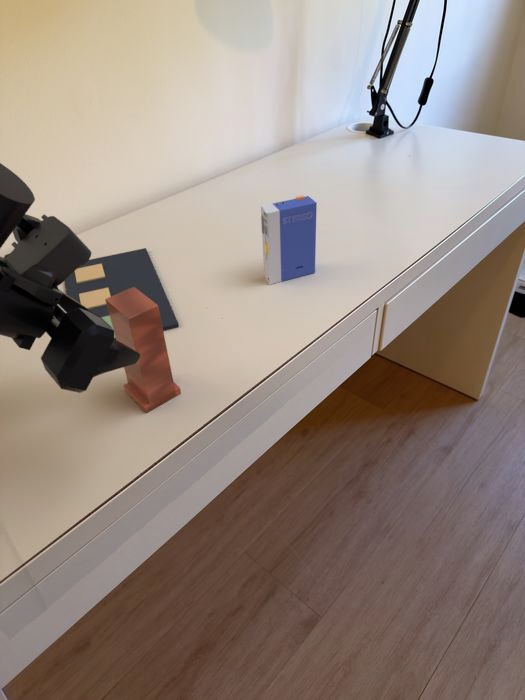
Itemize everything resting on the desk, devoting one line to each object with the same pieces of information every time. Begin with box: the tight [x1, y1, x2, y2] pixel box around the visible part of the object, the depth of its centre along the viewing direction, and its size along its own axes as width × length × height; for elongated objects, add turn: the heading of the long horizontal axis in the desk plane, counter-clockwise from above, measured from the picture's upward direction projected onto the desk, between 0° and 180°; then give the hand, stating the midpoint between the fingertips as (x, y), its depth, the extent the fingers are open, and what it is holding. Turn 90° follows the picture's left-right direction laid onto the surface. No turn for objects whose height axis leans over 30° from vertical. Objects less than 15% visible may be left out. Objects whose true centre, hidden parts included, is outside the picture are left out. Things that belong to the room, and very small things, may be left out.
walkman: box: [260, 194, 318, 285], centre depth 79 cm, size 8×3×12 cm, turn 112°
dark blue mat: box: [64, 247, 180, 340], centre depth 80 cm, size 24×14×1 cm, turn 21°
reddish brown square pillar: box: [105, 287, 182, 414], centre depth 59 cm, size 5×5×13 cm
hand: (115, 338), depth 56 cm, fingers open, 9 cm apart
